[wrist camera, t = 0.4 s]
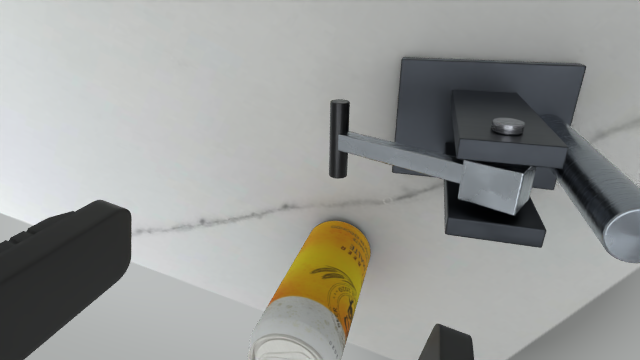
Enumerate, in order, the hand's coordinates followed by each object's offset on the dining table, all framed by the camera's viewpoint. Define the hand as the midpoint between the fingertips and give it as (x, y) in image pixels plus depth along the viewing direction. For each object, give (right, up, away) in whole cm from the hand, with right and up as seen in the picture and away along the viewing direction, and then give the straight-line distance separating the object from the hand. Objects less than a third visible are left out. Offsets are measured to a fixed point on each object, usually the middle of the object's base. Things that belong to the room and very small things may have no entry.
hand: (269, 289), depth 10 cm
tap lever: (+7, +4, +14) cm, 16 cm away
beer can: (+3, -3, +28) cm, 29 cm away
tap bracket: (+13, +7, +21) cm, 26 cm away
